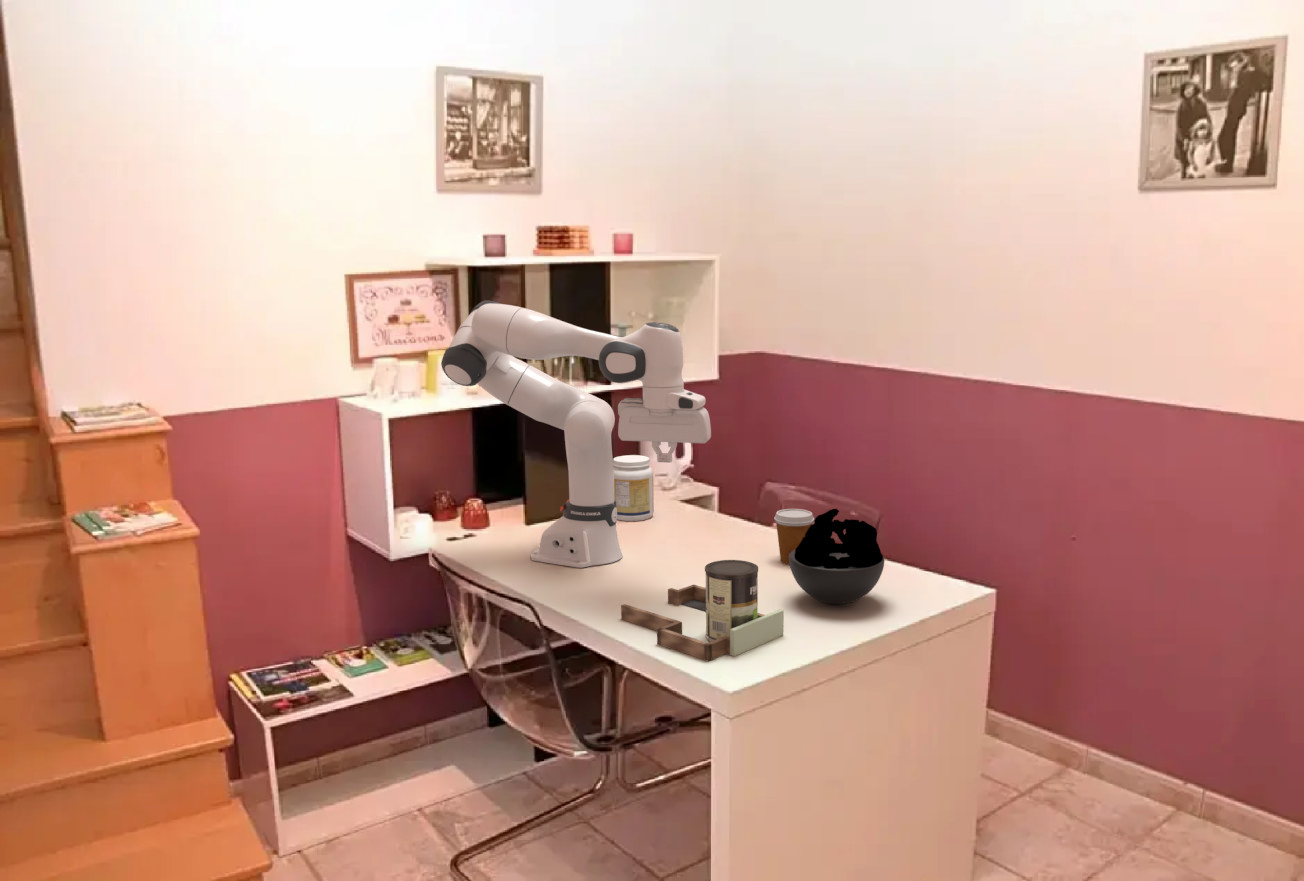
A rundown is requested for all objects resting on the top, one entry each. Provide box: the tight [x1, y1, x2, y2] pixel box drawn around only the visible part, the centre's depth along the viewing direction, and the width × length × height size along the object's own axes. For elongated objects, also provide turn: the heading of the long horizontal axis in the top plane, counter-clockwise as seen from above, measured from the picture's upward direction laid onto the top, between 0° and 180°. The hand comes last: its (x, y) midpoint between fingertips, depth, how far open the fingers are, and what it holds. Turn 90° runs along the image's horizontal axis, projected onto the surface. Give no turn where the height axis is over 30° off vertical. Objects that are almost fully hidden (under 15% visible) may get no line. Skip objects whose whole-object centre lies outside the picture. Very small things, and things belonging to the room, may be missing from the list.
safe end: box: [729, 608, 785, 657], centre depth 200 cm, size 1×15×5 cm, turn 136°
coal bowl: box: [788, 508, 885, 605], centre depth 223 cm, size 20×20×19 cm
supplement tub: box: [613, 454, 655, 522], centre depth 298 cm, size 12×12×17 cm
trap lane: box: [620, 584, 765, 662], centre depth 211 cm, size 29×25×3 cm
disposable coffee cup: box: [773, 508, 815, 566], centre depth 253 cm, size 10×10×12 cm
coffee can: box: [704, 559, 759, 642], centre depth 204 cm, size 10×10×14 cm
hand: (664, 461), depth 228 cm, fingers closed
